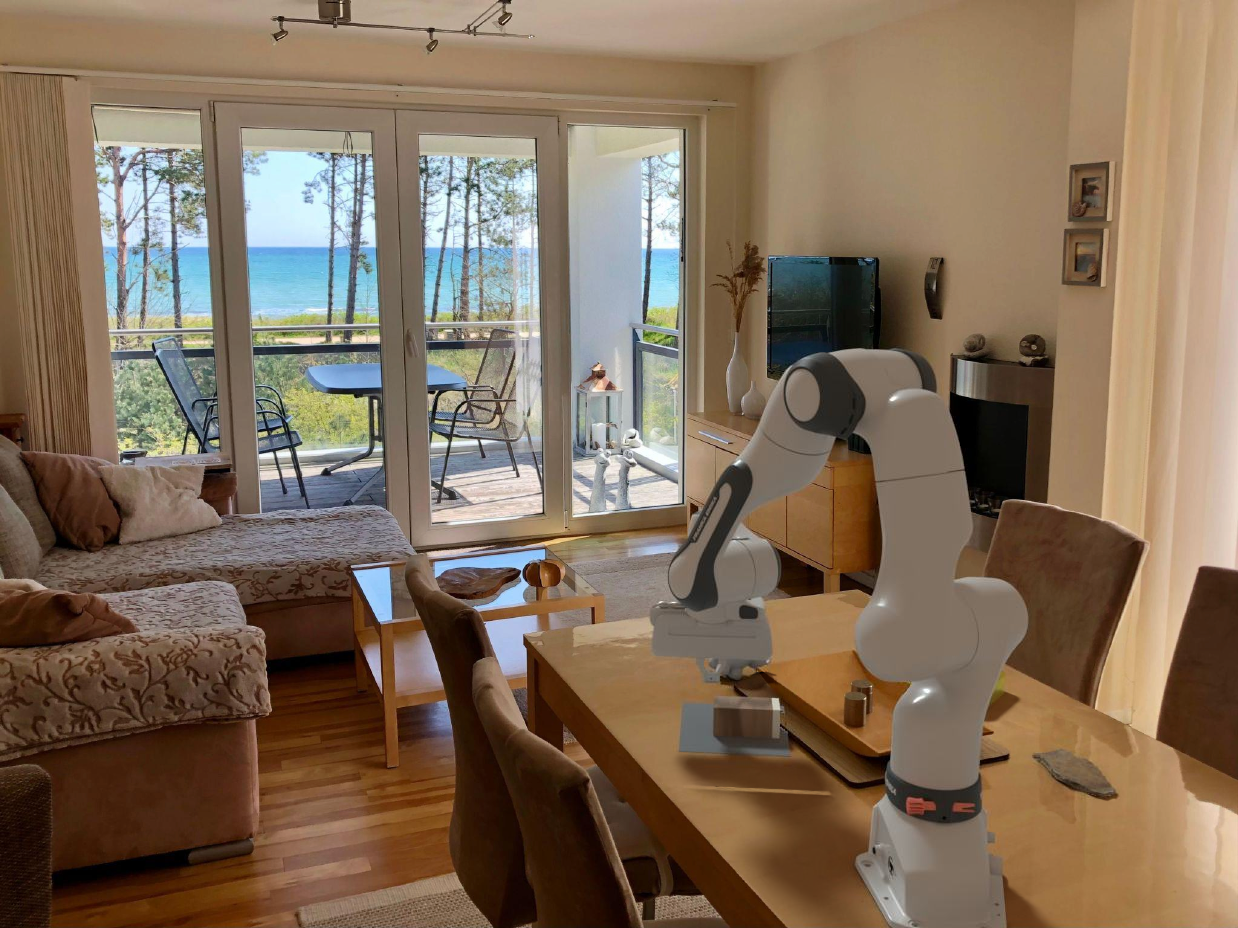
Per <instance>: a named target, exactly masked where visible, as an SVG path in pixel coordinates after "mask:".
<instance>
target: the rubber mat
mask: <svg viewBox="0 0 1238 928" xmlns="http://www.w3.org/2000/svg"><path fill="white" fill-rule="evenodd" d="M681 709H682V710H681V720H680V731H679V743H678V753H698V754H699V753H702V754H719V755H720V754H723V755H745V756H764V757H766V756H767V757H768V756H769V757H792V756H791V749H790V748H791V747H790V742H789V735H788V734H789V733H788V730H787V731H785V729H783V728H782V727H780V735H779V738H756V737H732V736H713V713H714V702H711V703H709V702H689V701H688V702H686V701H683V702H682V707H681ZM780 711H783V712H781V713H784V714H785V715H784V716H785V717H786V713H785V706H784V705H780Z"/></svg>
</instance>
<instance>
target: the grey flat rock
mask: <svg viewBox="0 0 1238 928" xmlns="http://www.w3.org/2000/svg"><path fill="white" fill-rule="evenodd" d="M1032 758H1033V759H1034V760H1036V761H1037V762H1038V763H1041V764H1042V765H1043V766H1044V767H1045V768H1046V769H1047V771H1048V772H1049V774H1050V775H1051V776H1052V777H1054V778H1055V779H1056V780H1058V781H1059V782H1062V783H1065V784H1066V785H1067V786H1070V787H1072V788H1074V789H1075V788H1076V789H1075V790H1078V789H1079V790H1078V791H1081V792H1083V791H1084V792H1083V793H1085V792H1087V793H1086V794H1088V793H1089V794H1088V795H1090V794H1093V795H1096V796H1098V797H1097V798H1099V797H1104V798H1108V797H1107V796H1109V795H1110V797H1112V795H1113V794H1114V795H1117V790H1116V788H1115V787H1113V786H1112V784H1111V783H1110V782H1109V781H1108V780H1107V778H1106V776H1105V775H1104V774H1103V772H1102V771H1101V770H1100V769H1099V767H1098V766H1097V765H1095V764H1094V763H1093V762H1092V761H1090V760H1089V759H1087V758H1085V757H1080V756H1076V755H1074V754H1073V753H1072V750H1071V751H1070V750H1067V749H1064V748H1058V749H1055V750H1051V751H1047V752H1040V753H1039V752H1038V753H1032ZM1093 795H1092V796H1093ZM1114 795H1113V796H1114ZM1096 796H1095V797H1096Z"/></svg>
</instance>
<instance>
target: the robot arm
mask: <svg viewBox="0 0 1238 928" xmlns="http://www.w3.org/2000/svg"><path fill="white" fill-rule="evenodd" d="M937 391H938V386H937V378H936V374H935V371H934V368H933V367H932V365H931V364H930V362H929V361H928V360H927V359H926V358H925V357H924V356H922V355H921V354H919V353H917V352H914V351H911V350H909V349H908V350H907V349H903V348H890V349H873V348H872V349H868V348H867V349H865V348H861V347H859V348H850V349H849V348H848V349H841V350H837V351H832V352H831V351H830V352H818V353H813V354H811V355H807V356H805V357H803V358H801V359H799V360H796V361H795V362H794V363H793V364H792V365H790V366H789V367H788V368H787V369H785V371H784V372H783V373H782V376H781V377H780V379H779V380H778V382H777V383H776V386H775V387H774V389H773V390H772V393H771V394H770V397H769V399H768V401H767V403H766V405H765V408H764V410H763V412H762V415H761V418H760V420H759V423H758V425H757V428H756V429H755V432H754V433H753V436H752V438H750V440H749V442H748V443H747V445H746V446H745V448H744V449H743V450H742V452H740V454H739V455H738V456H737V457H736V458H735V460H733V461H732V462H731V463H730V464H729V465H728V466H727V467H726V468H725V469H724V471H723V472H722V473H721V474H720V476H719V478H718V479H717V481H716V483H715V485H714V486H713V488H712V490H711V492H710V494H709V496H708V498H707V499H706V502H705V504H704V506H703V508H702V509H700V510H698V511H696V512H694V513H693V514H692V515H691V518H690V522H689V524H688V529H687V531H688V532H687V538H686V539H685V541H684V542H683V543H682V545H680V546H679V548H678V549H677V550H676V552H675V553H674V555H673V557H672V558H671V561H670V563H669V566H668V571H667V583H668V588H669V591H670V592H671V595H673V596H674V598H675V599H676V600H677V601H665V600H664V601H663V600H662V601H659V602H658V603H655V604H654V605H652V606H651V607H650V610H649V622H650V625H652V627H653V630H652V637H651V646H650V650H651V653H652V654H653V655H654V656H655V657H659V658H660V657H661V658H687V659H695V664H696V666H697V668H698V669H699V671H700V672H701V674H702V677H701V679H702V683H704V684H706V683H708V684H709V683H711V684H720V683H721V682H720V681H721V677H720V676H721V672H722V671H723V669H724V668H725V666H726V665H727V659H742V660H767V661H768V660H769V659H770V657H771V658H772V656H773V650H774V649H773V639H772V637H773V636H772V630H771V625H770V620H769V618H768V616H767V615H766V614H767V613H766V612H767V605H766V602H765V600H764V598H763V597H765V596H767V595H771V594H772V593H773V592H774V591H775V590H776V589H777V587H778V585H779V583H780V579H781V577H782V575H781V574H782V562H781V556H780V554H779V552H778V550H777V549H776V547H775V546H774V545H773V543H772V542H770V541H769V540H767V539H765V538H763V537H762V538H761V537H759V536H758V535H756V534H755V533H754V532H752V531H751V530H750V529H749V528H748V527H747V526H745V524H744V523H743V520H745V518H746V517H747V516H749V515H750V514H752V513H753V512H754V511H756V510H758V509H759V508H761V507H763V506H765V505H767V504H769V503H771V502H773V501H776V500H778V499H781V498H783V497H786V496H789V495H791V494H794V493H797V492H800V491H801V490H803V489H805V488H807V487H809V486H810V485H811V484H813V482H814V481H815V480H816V479H817V477H818V476H819V475H820V474H821V472H822V471H823V469H824V468H825V465H826V464H827V461H828V459H829V457H830V455H831V451H832V449H833V447H834V444H835V440H836V438H838V439H842V440H847V439H848V438H849V437H850V436H851V435H852V434H855V435H858V436H859V437H861V438H863V439H864V441H865V442H866V443H867V445H868V446H869V447H868V448H870V449H869V450H870V452H871V458H872V464H873V473H874V480H875V487H876V494H877V501H878V509H879V517H880V527H881V537H882V538H881V540H882V542H881V545H882V546H881V547H882V549H881V550H882V551H881V559H880V565H879V566H880V567H879V570H878V571H879V572H878V576H877V580H876V583H875V585H874V589H873V592H872V594H871V597H870V598H869V602H867V604H866V606H865V607H864V609H863V610H862V611H861V612H860V614H859V615H858V617H857V620H856V623H855V627H854V635H853V636H854V637H853V638H854V645H855V650H856V653H857V655H858V658H859V659H860V661H861V663H862V665H863V666H864V667H865V669H866V670H867V671H868V672H869V673H870V674H871V675H872V676H873V677H875V678H876V679H878V680H881V681H884V682H887V683H902V682H912V683H911V685H910V687H909V688H908V689H907V691H906V692H905V693H904V694H903V695H902V694H901V696H900V698H899V699H898V701H897V702H896V705H895V707H894V709H893V714H892V726H891V742H890V743H891V745H890V760H889V761H887V765H886V771H885V775H884V783H885V784H884V785H885V786H884V787H885V790H884V791H885V795H883V797H882V798H881V799H880V800H879V801H878V802H877V803H875V805H874V806H873V807H872V812H871V823H870V834H869V842H868V851H865V852H863V853H860V854H858V855H857V856H856V858H855V863H854V867H855V868H856V871H857V872H858V874H859V875H860V877H861V878H862V880H863V882H864V884H865V886H866V888H867V889H868V891H869V893H870V894H871V896H872V898H873V899H874V902H875V903H876V905H877V907H878V908H879V910H880V912H881V914H882V915H883V917H884V919H885V921H886V922H887V924H888V926H889V927H890V928H1007V927H1008V926H1007V915H1006V914H1007V913H1006V904H1005V893H1004V892H1005V891H1004V881H1003V866H1004V865H1003V862H1004V861H1003V857H1002V856H1001V855H994V853H989V846H988V844H995V843H996V832H993V831H988V829H987V828H988V818H989V817H988V816H989V812H988V811H987V810H986V808H984V807H983V797H984V795H983V791H984V789H983V784H982V783H983V782H982V774H981V772H980V763H981V762H980V761H981V752H982V751H981V749H982V741H983V732H984V724H985V719H986V715H987V711H988V708H989V707H988V705H989V702H990V699H991V696H992V694H993V691H994V688H995V686H996V683H997V681H998V678H999V676H1000V673H1001V671H1003V669H1004V666H1005V664H1006V663H1007V660H1008V659H1009V658H1010V656H1011V655H1012V652H1013V651H1014V650H1015V649H1016V647H1017V646H1018V645H1019V644H1020V643H1021V642H1022V641H1023V639H1024V638H1025V636H1026V634H1027V630H1028V626H1029V613H1028V608H1027V605H1026V602H1025V601H1024V599H1023V597H1022V595H1021V594H1020V592H1019V591H1018V590H1017V588H1015V587H1014V586H1013V585H1012V584H1010V582H1007V581H1005V580H1003V579H1000V578H996V577H982V576H966V577H961V578H958V579H957V578H956V579H955V576H956V569H957V564H958V561H959V557H960V555H961V552H962V550H963V549H964V547H965V546H966V544H967V543H968V542H969V541H970V539H971V537H972V534H973V530H974V522H973V516H972V510H971V509H972V508H971V504H970V503H971V502H970V496H969V490H968V483H967V476H966V471H965V466H964V465H965V464H964V457H963V454H962V453H963V452H962V449H961V446H960V441H959V436H958V433H957V430H956V427H955V424H954V421H953V418H952V415H951V412H950V410H949V407H948V404H947V401H945V400H944V398H942V397H941V395H939V394H937ZM710 658H713V659H718V664H719V666H718V667H717V669H716V670H715V669H707V668H706V666H705V659H710Z"/></svg>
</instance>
